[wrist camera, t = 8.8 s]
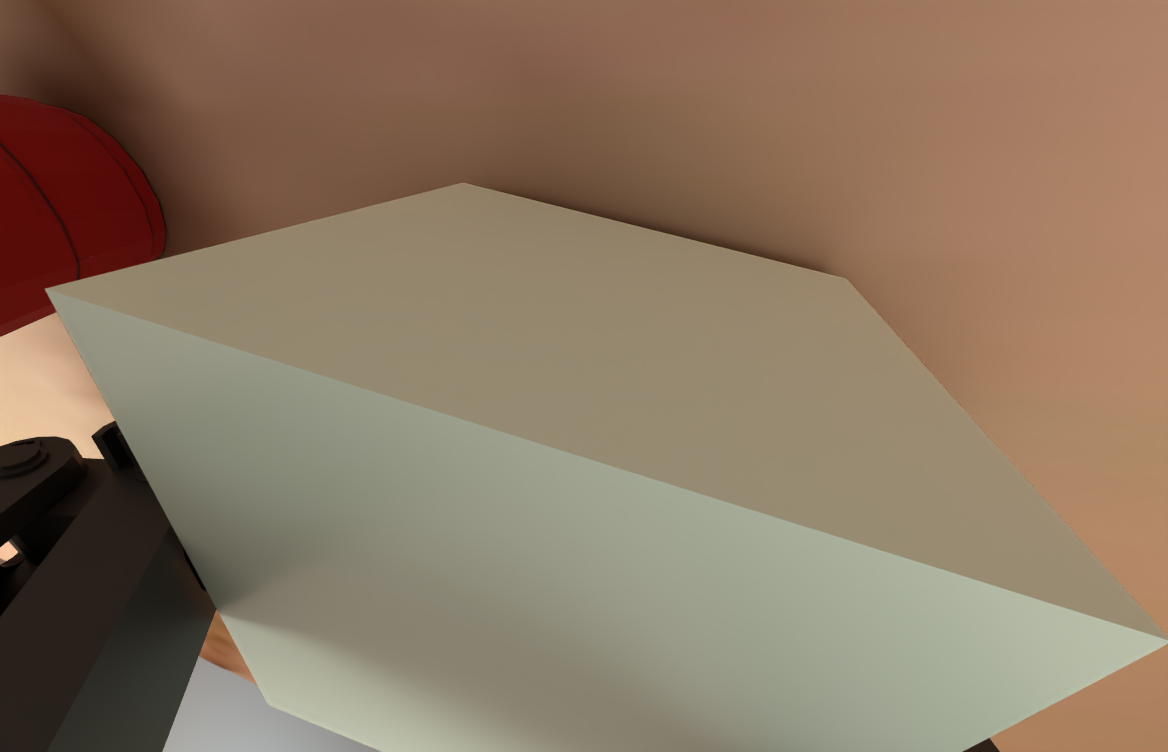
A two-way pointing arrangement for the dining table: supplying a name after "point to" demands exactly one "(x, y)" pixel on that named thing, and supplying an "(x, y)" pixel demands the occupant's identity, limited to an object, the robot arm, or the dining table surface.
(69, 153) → the plastic cup
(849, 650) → the pale green brick
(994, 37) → the dining table surface
